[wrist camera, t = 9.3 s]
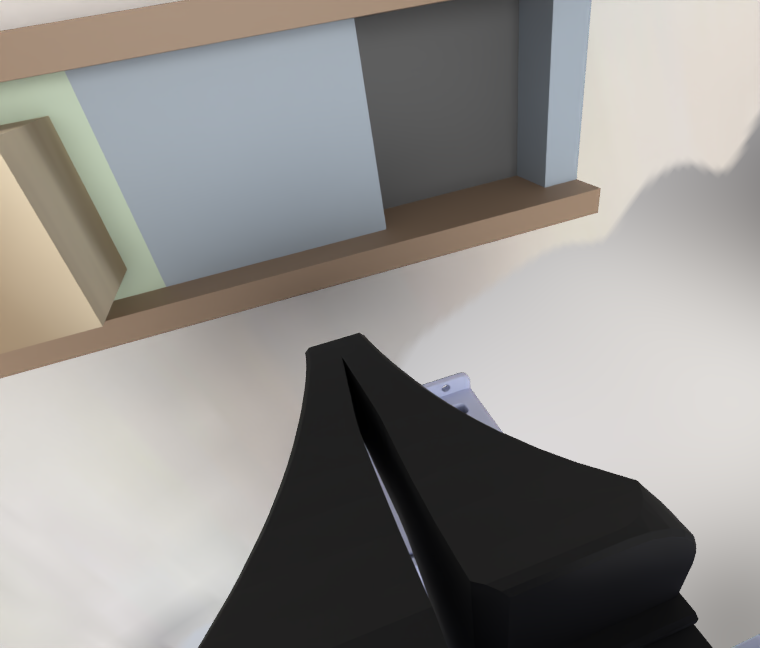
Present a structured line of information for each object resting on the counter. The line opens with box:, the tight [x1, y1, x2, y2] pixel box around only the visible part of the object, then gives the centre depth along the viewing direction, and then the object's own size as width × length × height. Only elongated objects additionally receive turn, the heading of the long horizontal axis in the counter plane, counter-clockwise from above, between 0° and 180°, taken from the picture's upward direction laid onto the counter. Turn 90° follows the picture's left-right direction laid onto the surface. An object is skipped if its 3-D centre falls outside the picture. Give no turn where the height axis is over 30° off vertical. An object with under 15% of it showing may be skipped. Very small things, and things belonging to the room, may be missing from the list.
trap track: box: [0, 0, 600, 378], centre depth 15 cm, size 31×9×4 cm, turn 99°
